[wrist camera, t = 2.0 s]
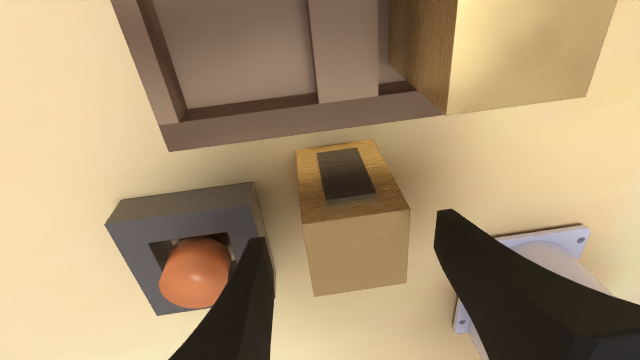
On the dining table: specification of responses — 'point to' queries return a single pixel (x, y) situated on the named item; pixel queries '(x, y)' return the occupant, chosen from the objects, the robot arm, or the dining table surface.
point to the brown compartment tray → (265, 68)
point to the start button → (195, 272)
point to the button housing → (182, 230)
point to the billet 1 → (352, 218)
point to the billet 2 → (497, 50)
